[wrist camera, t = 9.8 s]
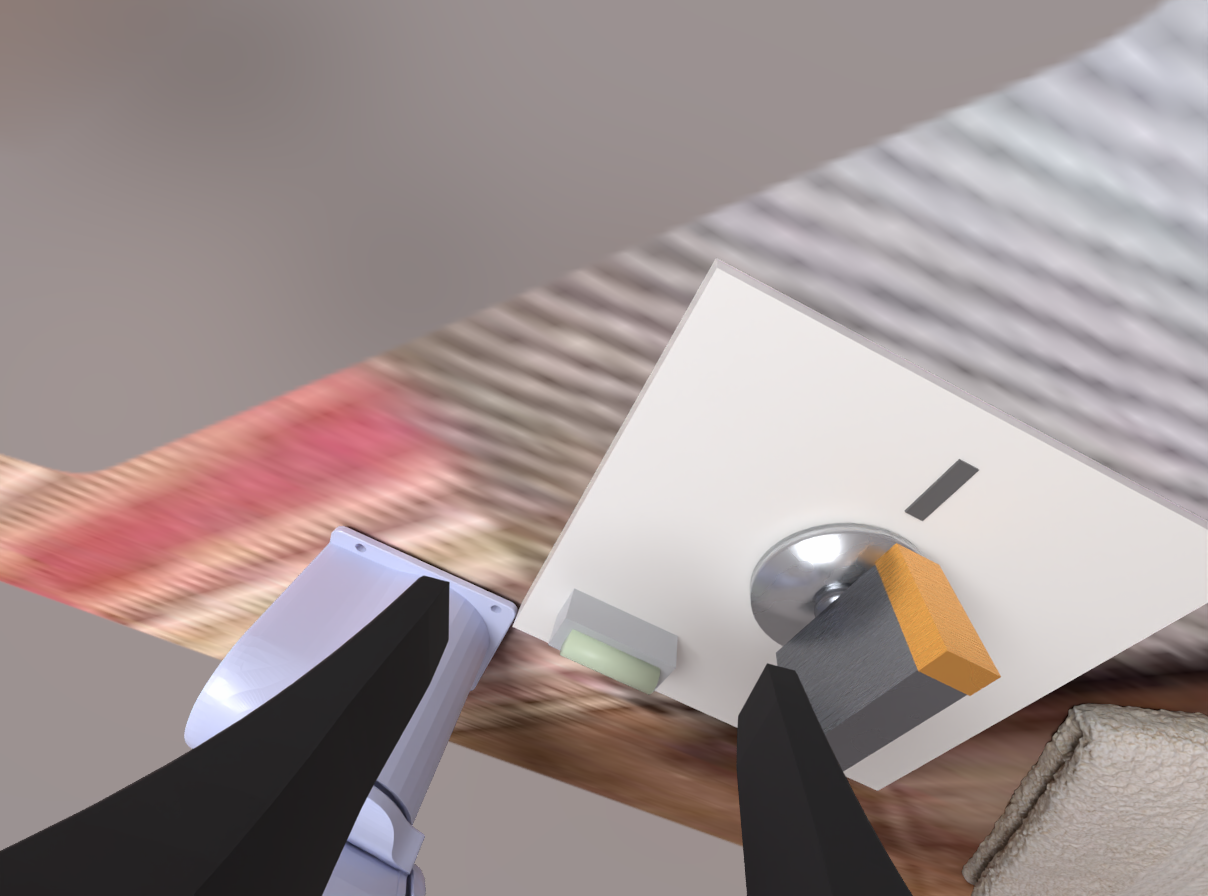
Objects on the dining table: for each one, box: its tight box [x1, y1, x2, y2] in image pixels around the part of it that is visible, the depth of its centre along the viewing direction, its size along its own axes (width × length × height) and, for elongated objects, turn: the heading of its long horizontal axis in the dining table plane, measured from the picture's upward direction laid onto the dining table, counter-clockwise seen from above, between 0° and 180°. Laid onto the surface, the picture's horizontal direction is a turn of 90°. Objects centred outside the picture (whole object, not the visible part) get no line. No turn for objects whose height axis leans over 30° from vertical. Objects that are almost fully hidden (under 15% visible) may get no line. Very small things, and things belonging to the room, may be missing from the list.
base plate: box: [512, 258, 1208, 791], centre depth 20 cm, size 20×18×4 cm
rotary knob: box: [750, 523, 1001, 772], centre depth 17 cm, size 7×6×5 cm
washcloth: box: [962, 704, 1208, 896], centre depth 25 cm, size 12×18×3 cm, turn 4°
